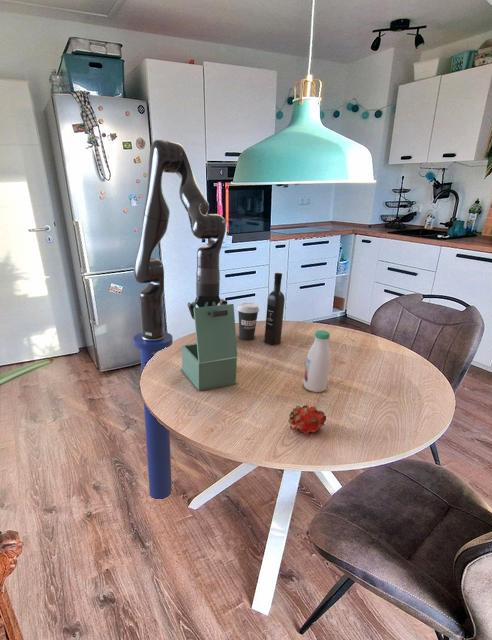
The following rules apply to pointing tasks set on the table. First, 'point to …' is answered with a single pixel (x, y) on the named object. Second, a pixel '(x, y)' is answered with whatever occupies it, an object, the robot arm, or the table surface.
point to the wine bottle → (274, 313)
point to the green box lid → (215, 332)
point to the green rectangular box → (207, 369)
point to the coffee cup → (247, 320)
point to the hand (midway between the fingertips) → (207, 330)
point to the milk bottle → (318, 363)
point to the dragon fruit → (306, 419)
